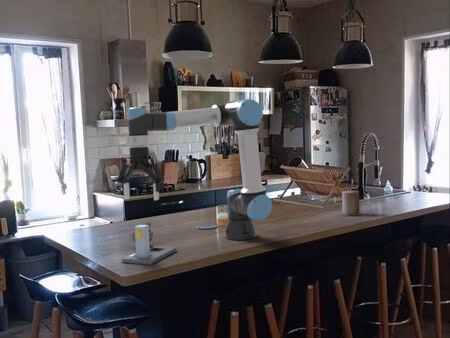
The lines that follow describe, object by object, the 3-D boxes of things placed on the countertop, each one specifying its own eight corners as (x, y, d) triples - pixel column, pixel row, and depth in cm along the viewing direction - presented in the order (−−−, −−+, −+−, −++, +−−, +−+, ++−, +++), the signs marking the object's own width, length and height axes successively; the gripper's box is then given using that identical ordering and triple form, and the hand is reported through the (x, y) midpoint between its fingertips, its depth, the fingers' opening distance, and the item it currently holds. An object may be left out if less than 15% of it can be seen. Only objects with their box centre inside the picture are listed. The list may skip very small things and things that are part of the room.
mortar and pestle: (128, 246, 220) (127, 220, 219) (146, 242, 226) (145, 217, 225) (141, 250, 212) (140, 223, 211) (159, 246, 218) (158, 220, 217)
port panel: (150, 249, 213) (149, 245, 213) (176, 251, 209) (176, 247, 208) (121, 262, 193) (121, 258, 193) (150, 264, 188) (150, 260, 188)
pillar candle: (363, 214, 281) (362, 188, 280) (351, 216, 276) (351, 190, 275) (350, 212, 289) (349, 187, 288) (338, 214, 284) (338, 189, 283)
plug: (150, 259, 197) (148, 225, 196) (143, 262, 192) (142, 227, 191) (141, 258, 198) (140, 224, 197) (135, 261, 194) (133, 227, 193)
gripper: (107, 147, 194) (109, 200, 195) (162, 146, 185) (164, 201, 186) (117, 146, 201) (120, 197, 202) (171, 145, 192) (173, 198, 193)
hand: (141, 199), depth 194 cm, fingers open, 13 cm apart
